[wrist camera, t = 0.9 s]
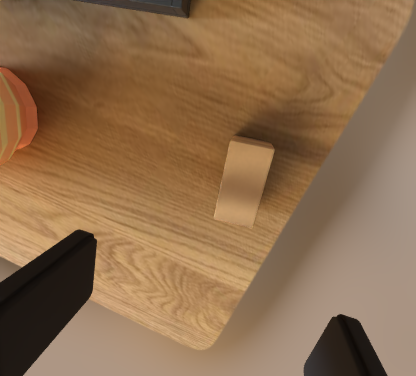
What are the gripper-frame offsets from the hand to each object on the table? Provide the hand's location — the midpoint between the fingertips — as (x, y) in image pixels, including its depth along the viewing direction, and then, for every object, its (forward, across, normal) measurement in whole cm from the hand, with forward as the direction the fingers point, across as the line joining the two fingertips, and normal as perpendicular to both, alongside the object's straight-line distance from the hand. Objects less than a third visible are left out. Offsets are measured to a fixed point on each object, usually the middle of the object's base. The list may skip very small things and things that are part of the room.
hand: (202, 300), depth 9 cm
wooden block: (+16, -1, -1) cm, 16 cm away
